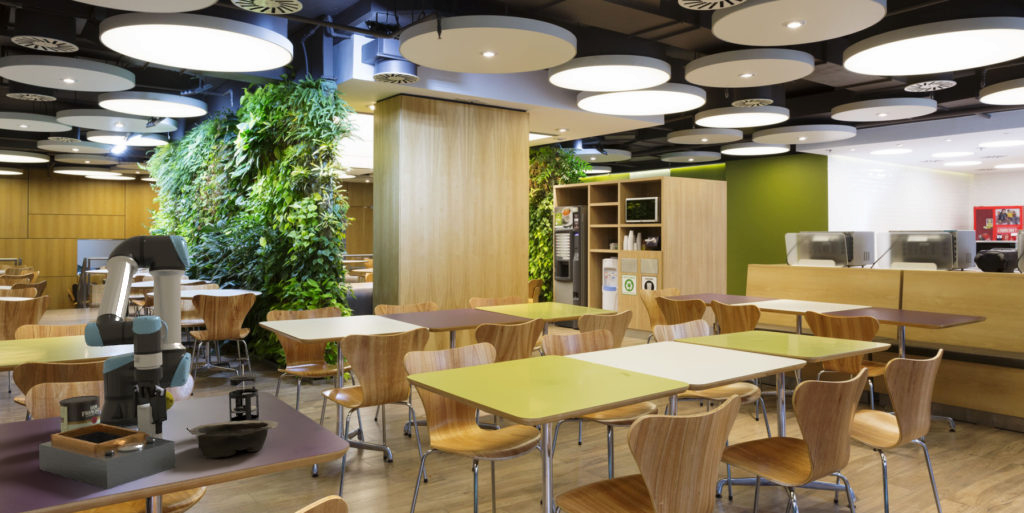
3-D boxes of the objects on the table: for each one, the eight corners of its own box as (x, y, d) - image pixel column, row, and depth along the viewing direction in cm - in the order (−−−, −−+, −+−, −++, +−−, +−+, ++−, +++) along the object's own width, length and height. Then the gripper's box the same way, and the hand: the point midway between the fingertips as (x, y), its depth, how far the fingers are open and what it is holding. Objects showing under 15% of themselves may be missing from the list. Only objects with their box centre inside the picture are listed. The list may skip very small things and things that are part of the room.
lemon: (143, 412, 242) (143, 390, 242) (165, 407, 248) (165, 386, 248) (156, 416, 235) (156, 394, 235) (179, 412, 241) (178, 390, 241)
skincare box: (137, 444, 201) (136, 405, 201) (151, 440, 205) (149, 402, 205) (150, 447, 198) (149, 407, 198) (163, 443, 202) (162, 404, 202)
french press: (264, 428, 216) (262, 358, 216) (234, 434, 210) (232, 362, 210) (253, 421, 226) (251, 354, 225) (224, 426, 220) (222, 357, 219)
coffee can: (109, 440, 206) (107, 395, 206) (81, 450, 196) (80, 403, 196) (81, 439, 208) (79, 394, 208) (52, 449, 198) (50, 402, 198)
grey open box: (39, 469, 180) (38, 436, 179) (107, 451, 195) (106, 420, 195) (107, 489, 164) (106, 452, 164) (175, 467, 180) (174, 434, 179)
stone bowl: (198, 469, 177) (196, 434, 177) (181, 453, 197) (179, 422, 198) (291, 449, 192) (289, 417, 192) (266, 436, 212) (264, 407, 212)
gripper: (117, 366, 203) (119, 442, 203) (155, 371, 193) (157, 450, 194) (141, 362, 209) (143, 435, 210) (179, 367, 200) (181, 443, 200)
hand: (150, 442), depth 202 cm, fingers closed on skincare box, 6 cm apart
